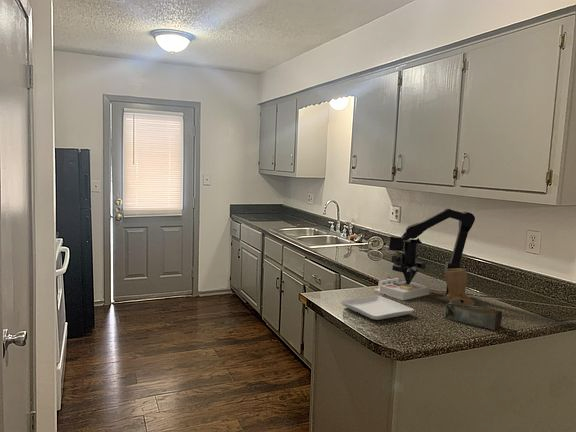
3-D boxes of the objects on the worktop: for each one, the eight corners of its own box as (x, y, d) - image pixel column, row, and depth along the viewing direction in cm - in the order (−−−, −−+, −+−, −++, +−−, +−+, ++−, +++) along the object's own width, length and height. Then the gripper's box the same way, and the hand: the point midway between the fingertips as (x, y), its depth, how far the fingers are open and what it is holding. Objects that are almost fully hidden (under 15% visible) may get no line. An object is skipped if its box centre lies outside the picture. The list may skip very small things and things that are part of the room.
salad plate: (374, 324, 168) (375, 315, 167) (338, 308, 186) (339, 299, 185) (415, 317, 179) (415, 308, 179) (377, 302, 197) (378, 294, 196)
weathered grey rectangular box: (451, 314, 185) (452, 298, 184) (501, 326, 173) (503, 309, 172) (444, 318, 179) (445, 302, 178) (496, 331, 167) (498, 314, 166)
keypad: (429, 294, 214) (430, 285, 213) (402, 300, 201) (403, 290, 201) (400, 286, 227) (401, 277, 226) (373, 291, 214) (374, 281, 213)
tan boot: (440, 296, 212) (443, 264, 210) (467, 299, 209) (470, 267, 208) (445, 305, 197) (448, 271, 195) (474, 308, 195) (477, 274, 193)
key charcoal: (406, 287, 214) (406, 283, 214) (400, 288, 211) (401, 284, 211) (398, 285, 218) (399, 281, 217) (393, 286, 215) (393, 282, 215)
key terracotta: (398, 292, 211) (398, 288, 210) (392, 293, 208) (392, 289, 208) (390, 289, 214) (390, 286, 214) (384, 290, 211) (384, 287, 211)
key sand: (413, 291, 208) (413, 287, 208) (407, 292, 205) (407, 288, 205) (405, 288, 211) (405, 284, 211) (399, 289, 208) (399, 286, 208)
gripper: (408, 248, 229) (405, 278, 230) (384, 250, 217) (381, 282, 219) (427, 251, 220) (424, 283, 222) (403, 254, 208) (400, 288, 210)
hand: (407, 284), depth 218 cm, fingers closed, pressing on key sage
